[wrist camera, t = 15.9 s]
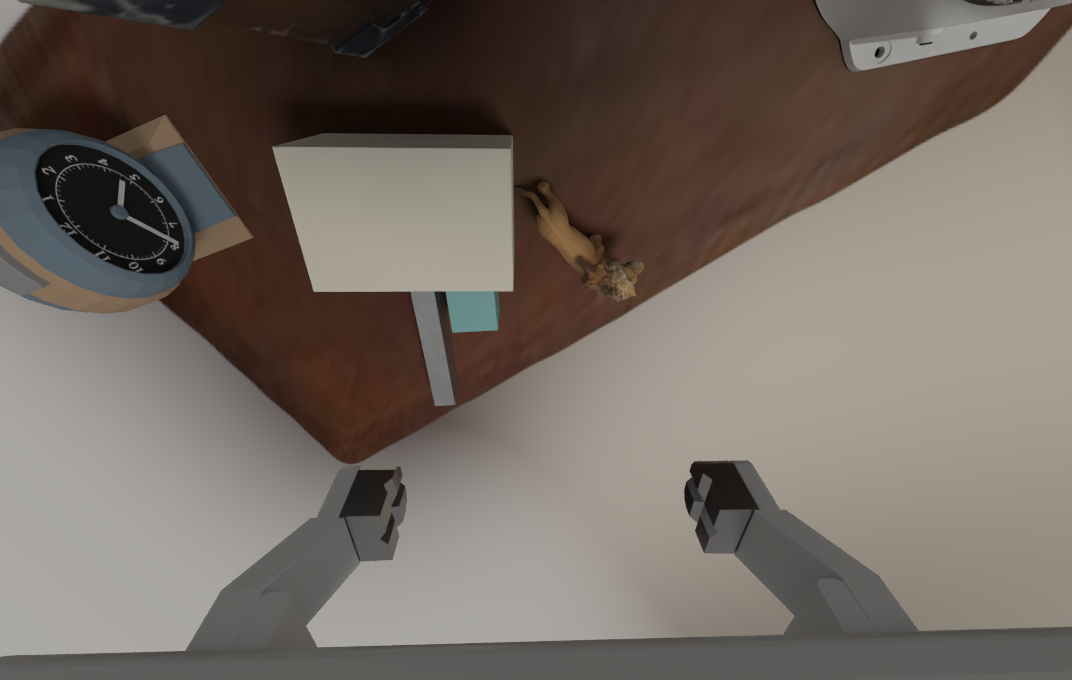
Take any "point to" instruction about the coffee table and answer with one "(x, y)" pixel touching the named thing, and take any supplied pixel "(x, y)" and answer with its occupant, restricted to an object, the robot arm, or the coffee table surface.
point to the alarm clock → (106, 216)
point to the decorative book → (271, 17)
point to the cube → (473, 310)
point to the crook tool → (436, 345)
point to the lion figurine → (583, 250)
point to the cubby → (402, 210)
